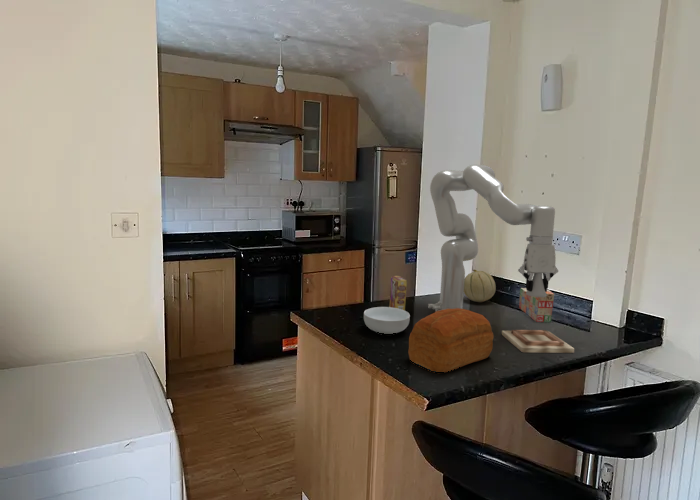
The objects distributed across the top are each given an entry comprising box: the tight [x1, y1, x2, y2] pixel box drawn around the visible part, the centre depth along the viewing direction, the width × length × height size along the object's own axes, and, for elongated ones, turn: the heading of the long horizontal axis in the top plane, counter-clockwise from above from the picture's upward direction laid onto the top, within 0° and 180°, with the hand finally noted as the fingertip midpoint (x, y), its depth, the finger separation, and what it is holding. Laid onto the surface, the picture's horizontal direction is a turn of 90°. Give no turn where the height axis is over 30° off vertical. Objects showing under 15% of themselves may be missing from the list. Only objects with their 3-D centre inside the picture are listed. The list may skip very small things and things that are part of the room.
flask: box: [526, 273, 547, 297], centre depth 174 cm, size 7×7×10 cm
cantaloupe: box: [464, 269, 497, 303], centre depth 225 cm, size 15×15×15 cm
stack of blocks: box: [518, 287, 555, 323], centre depth 207 cm, size 21×6×12 cm, turn 0°
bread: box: [407, 308, 494, 373], centre depth 152 cm, size 16×27×16 cm, turn 129°
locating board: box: [501, 329, 575, 354], centre depth 171 cm, size 18×18×3 cm
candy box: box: [388, 275, 408, 311], centre depth 200 cm, size 9×4×15 cm, turn 13°
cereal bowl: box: [363, 306, 411, 335], centre depth 177 cm, size 17×17×7 cm
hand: (536, 290), depth 175 cm, fingers closed on flask, 4 cm apart
